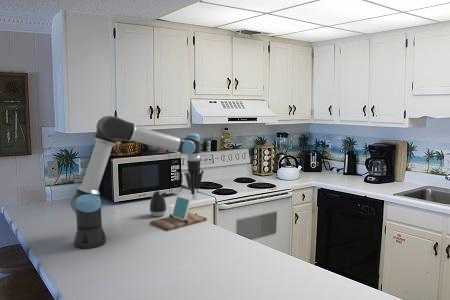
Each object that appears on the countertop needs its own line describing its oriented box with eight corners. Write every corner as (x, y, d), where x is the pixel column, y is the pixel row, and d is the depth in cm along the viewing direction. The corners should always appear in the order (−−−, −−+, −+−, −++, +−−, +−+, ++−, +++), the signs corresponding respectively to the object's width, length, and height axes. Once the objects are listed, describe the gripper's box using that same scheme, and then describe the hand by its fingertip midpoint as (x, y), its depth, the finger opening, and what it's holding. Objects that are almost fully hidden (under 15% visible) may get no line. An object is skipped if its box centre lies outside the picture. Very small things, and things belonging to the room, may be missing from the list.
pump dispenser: (165, 217, 238) (164, 193, 236) (148, 217, 238) (147, 193, 236) (168, 213, 248) (167, 189, 246) (151, 213, 248) (150, 189, 246)
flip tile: (185, 220, 224) (184, 220, 224) (173, 216, 233) (171, 215, 232) (191, 199, 226) (189, 199, 225) (178, 196, 235) (177, 196, 234)
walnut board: (168, 230, 213) (167, 225, 213) (150, 223, 226) (150, 218, 226) (206, 220, 231) (206, 215, 231) (188, 214, 244) (188, 209, 244)
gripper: (188, 162, 225) (189, 202, 228) (206, 159, 234) (207, 198, 237) (181, 160, 231) (182, 200, 234) (198, 158, 239) (199, 196, 242)
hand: (194, 199), depth 235 cm, fingers closed
